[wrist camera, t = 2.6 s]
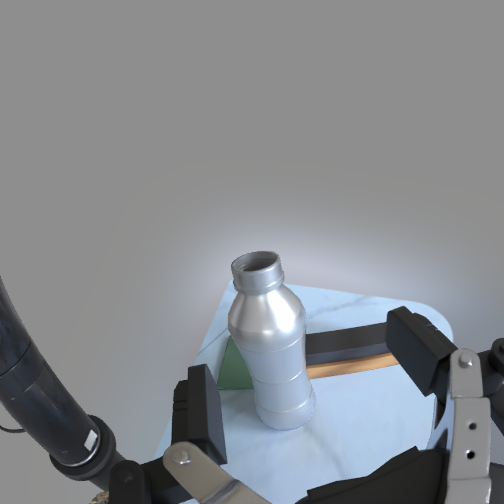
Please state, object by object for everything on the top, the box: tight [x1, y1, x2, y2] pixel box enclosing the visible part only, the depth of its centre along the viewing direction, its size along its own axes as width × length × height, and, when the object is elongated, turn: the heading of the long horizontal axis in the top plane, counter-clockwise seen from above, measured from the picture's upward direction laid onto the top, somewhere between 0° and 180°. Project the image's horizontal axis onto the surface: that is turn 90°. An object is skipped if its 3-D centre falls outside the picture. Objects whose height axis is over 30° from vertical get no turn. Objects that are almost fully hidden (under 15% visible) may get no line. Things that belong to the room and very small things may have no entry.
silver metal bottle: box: [228, 251, 316, 430], centre depth 25 cm, size 6×7×20 cm
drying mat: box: [216, 335, 254, 389], centre depth 39 cm, size 9×11×1 cm
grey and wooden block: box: [305, 322, 399, 379], centre depth 34 cm, size 14×5×4 cm, turn 84°
